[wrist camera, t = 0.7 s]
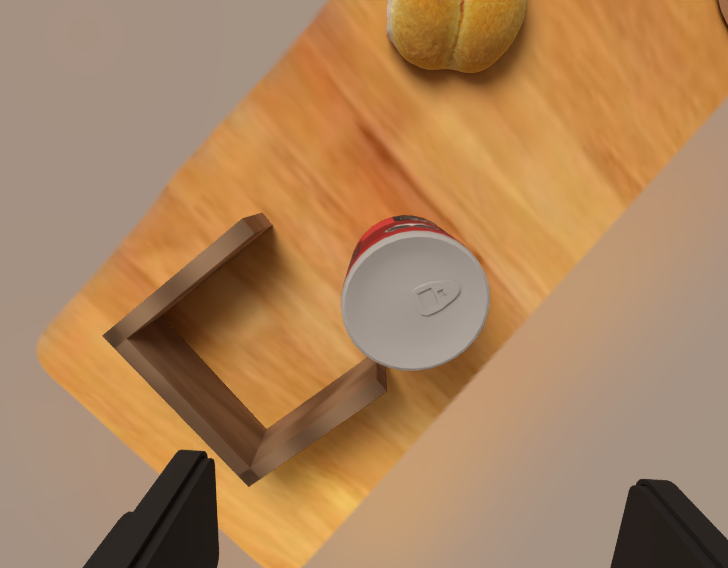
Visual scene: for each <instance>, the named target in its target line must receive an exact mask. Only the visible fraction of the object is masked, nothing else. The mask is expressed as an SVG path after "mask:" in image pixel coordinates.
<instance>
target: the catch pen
mask: <svg viewBox="0 0 728 568" xmlns="http://www.w3.org/2000/svg"><path fill="white" fill-rule="evenodd" d="M271 226H272V224H271V223H270V222H269V220H268V219H267V218H266V217H265V215H264V214H263V213H259V214H256V215H253V216H249V217H246V218H243V219H241V220H240V221H239V222H238V223H236V224H235V225H234V226H233V227H232V228H230V229H229V230H228V231H227V232H226V233H224V234H223V235H222V236H221V237H220V238H218V239H217V240H216V241H215V242H214V243H213V244H211V245H210V246H209V247H208V248H207V249H205V250H204V251H203V252H202V253H201V254H199V255H198V256H197V257H196V258H195V259H193V260H192V261H191V262H190V263H189V264H187V265H186V266H185V267H184V268H183V269H181V270H180V271H179V272H178V273H177V274H175V275H174V276H173V277H172V278H171V279H170V280H168V281H167V282H166V283H165V284H164V285H162V286H161V287H160V288H159V289H158V290H156V291H155V292H154V293H153V294H152V295H150V296H149V297H148V298H147V299H146V300H144V301H143V302H142V303H141V304H140V305H138V306H137V307H136V308H135V309H134V310H133V311H131V312H130V313H129V314H128V315H127V316H125V317H124V318H123V319H122V320H121V321H119V322H118V323H117V324H116V325H115V326H113V327H112V328H111V329H110V330H109V331H107V332H106V333H105V334H104V335H103V337H104V338H105V339H106V340H107V341H108V342H109V343H110V344H111V345H112V346H113V347H114V348H115V350H116V351H117V352H118V353H119V354H120V355H121V356H122V357H123V358H124V359H125V360H126V361H127V362H128V363H129V364H130V365H131V366H132V367H133V368H134V369H135V370H136V371H137V372H138V373H139V374H140V375H141V376H142V377H143V378H144V379H145V380H146V381H147V383H148V384H149V385H150V386H151V387H152V388H153V389H154V390H155V391H156V392H157V393H158V394H159V395H160V396H161V397H162V398H163V399H164V400H165V401H166V402H167V403H168V404H169V405H170V406H171V407H172V408H173V409H174V410H175V411H176V412H177V413H178V414H179V416H180V417H181V418H182V419H183V420H184V421H185V422H186V423H187V424H188V425H189V426H190V427H191V428H192V429H193V430H194V431H195V432H196V433H197V434H198V435H199V436H200V437H201V438H202V439H203V440H204V441H205V442H206V443H207V444H208V445H209V446H210V447H211V449H212V450H213V451H214V452H215V453H216V454H217V455H218V456H219V457H220V458H221V459H222V460H223V461H224V462H225V463H226V464H227V465H228V466H229V467H230V468H231V469H232V470H233V471H234V472H235V473H236V474H237V475H238V476H239V477H240V478H241V479H242V480H243V482H244V483H245V484H246V485H247V486H248V487H249V486H251V485H252V484H254V483H255V482H257V481H258V480H260V479H261V478H262V477H264V476H265V475H267V474H268V473H270V472H271V471H273V470H274V469H275V468H277V467H278V466H280V465H281V464H283V463H284V462H286V461H287V460H289V459H290V458H291V457H293V456H294V455H296V454H297V453H299V452H300V451H302V450H303V449H304V448H306V447H307V446H309V445H310V444H312V443H313V442H315V441H316V440H317V439H319V438H320V437H322V436H323V435H325V434H326V433H328V432H329V431H331V430H332V429H333V428H335V427H336V426H338V425H339V424H341V423H342V422H344V421H345V420H346V419H348V418H349V417H351V416H352V415H354V414H355V413H357V412H358V411H359V410H361V409H362V408H364V407H365V406H367V405H368V404H370V403H371V402H373V401H374V400H375V399H377V398H378V397H380V396H381V395H383V394H384V393H386V392H387V384H386V366H384V365H381V364H379V363H377V362H375V361H373V360H372V359H370V358H369V357H367V358H366V359H365V360H363V361H362V362H360V363H359V364H358V365H356V366H355V367H353V368H352V369H351V370H349V371H348V372H346V373H345V374H344V375H342V376H341V377H339V378H338V379H337V380H335V381H334V382H332V383H331V384H330V385H328V386H327V387H325V388H324V389H323V390H321V391H320V392H318V393H317V394H316V395H314V396H313V397H311V398H310V399H309V400H307V401H306V402H304V403H303V404H302V405H300V406H299V407H297V408H296V409H295V410H293V411H292V412H290V413H289V414H288V415H286V416H285V417H283V418H282V419H281V420H279V421H278V422H276V423H275V424H274V425H272V426H271V427H269V428H268V429H266V428H265V427H264V426H263V425H262V424H261V423H260V422H259V421H258V420H257V419H256V418H255V417H254V415H253V414H252V413H251V412H250V411H249V410H248V409H247V408H246V407H245V406H244V405H243V404H242V403H241V401H240V400H239V399H238V398H237V397H236V396H235V395H234V394H233V393H232V392H231V391H230V390H229V388H228V387H227V386H226V385H225V384H224V383H223V382H222V381H221V380H220V379H219V378H218V377H217V376H216V374H215V373H214V372H213V371H212V370H211V369H210V368H209V367H208V366H207V365H206V364H205V363H204V362H203V360H202V359H201V358H200V357H199V356H198V355H197V354H196V353H195V352H194V351H193V350H192V349H191V347H190V346H189V345H188V344H187V343H186V342H185V341H184V340H183V339H182V338H181V337H180V336H179V335H178V333H177V332H176V331H175V330H174V329H173V328H172V327H171V326H170V325H169V324H168V323H167V322H166V321H165V319H164V318H163V317H162V315H164V314H165V313H166V312H167V311H168V310H170V309H171V308H172V307H173V306H175V305H176V304H177V303H178V302H179V301H181V300H182V299H183V298H184V297H186V296H187V295H188V294H189V293H190V292H192V291H193V290H194V289H195V288H196V287H198V286H199V285H200V284H201V283H203V282H204V281H205V280H206V279H207V278H209V277H210V276H211V275H212V274H214V273H215V272H216V271H217V270H218V269H220V268H221V267H222V266H223V265H225V264H226V263H227V262H228V261H229V260H231V259H232V258H233V257H234V256H235V255H237V254H238V253H239V252H240V251H242V250H243V249H244V248H245V247H246V246H248V245H249V244H250V243H251V242H253V241H254V240H255V239H256V238H257V237H259V236H260V235H261V234H262V233H264V232H265V231H266V230H267V229H268V228H270V227H271Z"/></svg>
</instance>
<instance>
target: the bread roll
mask: <svg viewBox="0 0 728 568" xmlns="http://www.w3.org/2000/svg"><path fill="white" fill-rule="evenodd" d="M526 7H527V0H388V6H387V20H388V22H387V27H386V31H387V37H388V39H389V40H390V41H391V42H392V43H393V44H394V46H395V47H396V49H397V50H398V52H399V53H400V55H401V56H402V57H403V58H404V59H405V60H407V61H408V62H410V63H412V64H414V65H416V66H418V67H420V68H423V69H427V70H439V69H453V70H456V71H459V72H465V73H476V72H480V71H483V70H485V69H486V68H488V67H490V66H491V65H492V64H493V63H495V62H496V61H497V60H498V59H499V58H500V57H501V56H502V55H503V54H504V53H505V52H506V51H507V49H508V48H509V47H510V46H511V44H512V43H513V41H514V39H515V37H516V35H517V33H518V32H519V29H520V27H521V25H522V23H523V20H524V16H525V12H526Z"/></svg>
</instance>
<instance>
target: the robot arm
mask: <svg viewBox="0 0 728 568" xmlns="http://www.w3.org/2000/svg"><path fill="white" fill-rule="evenodd" d="M719 4H720V9H721V12H722V14H723V16H724V18H725V20H726V22H727V25H728V0H719ZM218 560H219V542H218V520H217V500H216V479H215V462H214V459H212V458H208V457H207V453H206V452H205V451H194V450H179V451H178V452H177V453H176V454H175V455H174V457H173V458H172V459H171V461H170V462H169V464H168V465H167V466H166V468H165V469H164V470H163V472H162V473H161V475H160V476H159V477H158V479H157V480H156V481H155V483H154V484H153V485H152V487H151V488H150V490H149V491H148V492H147V494H146V495H145V497H144V498H143V499H142V501H141V502H140V503H139V505H138V506H137V507H136V509H135V510H134V512H128V513H126V514H124V515H123V516H122V517H121V518H120V519H119V520H118V522H117V523H116V524H115V526H114V527H113V528H112V530H111V531H110V532H109V533H108V535H107V536H106V537H105V539H104V540H103V541H102V543H101V544H100V545H99V547H98V548H97V550H96V551H95V552H94V553H93V555H92V556H91V557H90V559H89V560H88V561H87V563H86V564H85V565H84V567H83V568H217V565H218ZM611 568H728V540H727V539H726V537H724V536H723V534H722V533H721V532H720V531H719V530H718V529H717V528H716V527H715V526H714V525H713V524H712V523H711V522H710V521H709V520H708V519H707V518H706V517H705V515H704V514H703V513H702V512H701V511H700V510H699V509H698V508H697V507H696V506H695V505H694V504H693V503H692V502H691V501H690V500H689V499H688V498H687V497H686V496H685V495H684V493H683V492H682V491H681V490H680V489H679V488H678V487H677V486H676V485H675V484H673V483H672V482H670V481H668V480H652V479H640V480H639V481H638V482H637V483H636V485H634V486H632V487H630V490H629V493H628V497H627V501H626V505H625V509H624V514H623V518H622V522H621V526H620V530H619V535H618V539H617V543H616V547H615V551H614V555H613V560H612V564H611Z"/></svg>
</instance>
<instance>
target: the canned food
mask: <svg viewBox="0 0 728 568" xmlns="http://www.w3.org/2000/svg"><path fill="white" fill-rule="evenodd" d="M489 304H490V293H489V285H488V282H487V278H486V275H485V273H484V271H483V269H482V267H481V265H480V263H479V262H478V260H477V258H476V257H475V256H474V255H473V254H472V253H471V252H470V251H469V249H468V248H466V247H465V246H464V245H463V244H462V243H460V242H459V241H458V240H456V239H455V238H453V237H452V236H451V235H449V234H448V233H447V232H445V231H444V230H442V229H441V228H440V227H438V226H437V225H436V224H434V223H433V222H431V221H429V220H426V219H424V218H421V217H417V216H407V215H402V216H396V217H391V218H388V219H385V220H383V221H381V222H379V223H377V224H376V225H374V226H372V227H371V228H370V229H369V230H368V231H367V232H366V233H365V234H364V235H363V236H362V238H361V239H360V240H359V242H358V244H357V246H356V248H355V250H354V252H353V256H352V259H351V262H350V265H349V268H348V271H347V274H346V278H345V281H344V285H343V290H342V297H341V310H342V316H343V322H344V325H345V327H346V330H347V333H348V335H349V336H350V338H351V339H352V341H353V343H354V344H355V346H356V347H357V348H358V349H359V350H360V351H361V352H362V353H363V354H364V355H366V356H367V357H369V358H370V359H372V360H373V361H375V362H377V363H379V364H381V365H384V366H386V367H389V368H393V369H398V370H407V371H418V370H425V369H431V368H434V367H437V366H440V365H443V364H445V363H447V362H449V361H451V360H453V359H455V358H456V357H458V356H459V355H460V354H461V353H463V352H464V351H465V350H467V349H468V347H469V346H470V345H471V344H472V343H473V342H474V341H475V340H476V338H477V337H478V335H479V333H480V332H481V330H482V328H483V327H484V324H485V321H486V318H487V316H488V311H489Z"/></svg>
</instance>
